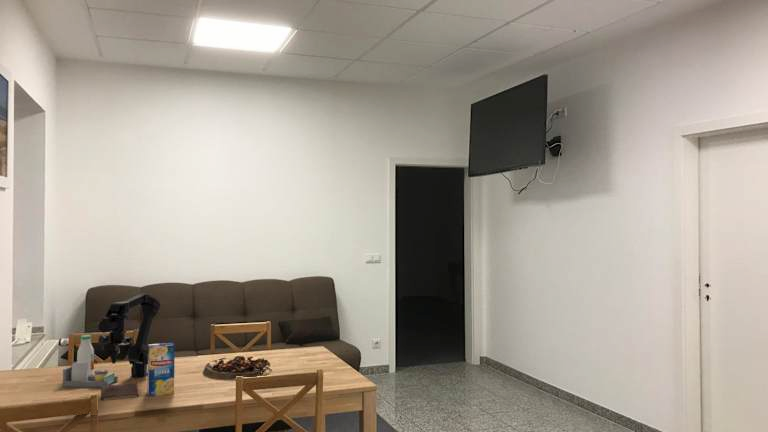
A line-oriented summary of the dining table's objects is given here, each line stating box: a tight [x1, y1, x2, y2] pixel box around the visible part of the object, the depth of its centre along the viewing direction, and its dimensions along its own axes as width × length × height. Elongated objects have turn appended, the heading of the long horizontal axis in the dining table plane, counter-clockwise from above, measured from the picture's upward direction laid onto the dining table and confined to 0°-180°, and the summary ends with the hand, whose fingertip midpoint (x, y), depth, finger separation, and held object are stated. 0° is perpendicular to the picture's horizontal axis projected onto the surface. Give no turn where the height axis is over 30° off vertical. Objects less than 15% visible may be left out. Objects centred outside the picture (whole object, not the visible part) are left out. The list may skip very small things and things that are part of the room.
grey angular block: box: [71, 362, 88, 381], centre depth 286 cm, size 4×7×10 cm, turn 111°
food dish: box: [201, 355, 271, 380], centre depth 312 cm, size 35×33×8 cm
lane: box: [62, 365, 119, 388], centre depth 286 cm, size 21×10×8 cm, turn 88°
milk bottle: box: [76, 334, 95, 376], centre depth 302 cm, size 8×8×20 cm
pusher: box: [104, 371, 115, 385], centre depth 285 cm, size 1×8×4 cm, turn 178°
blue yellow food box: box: [146, 342, 176, 397], centre depth 271 cm, size 7×11×22 cm, turn 117°
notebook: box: [101, 382, 139, 401], centre depth 272 cm, size 15×20×2 cm
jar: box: [94, 369, 109, 381], centre depth 286 cm, size 6×6×6 cm
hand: (117, 361), depth 285 cm, fingers open, 8 cm apart
